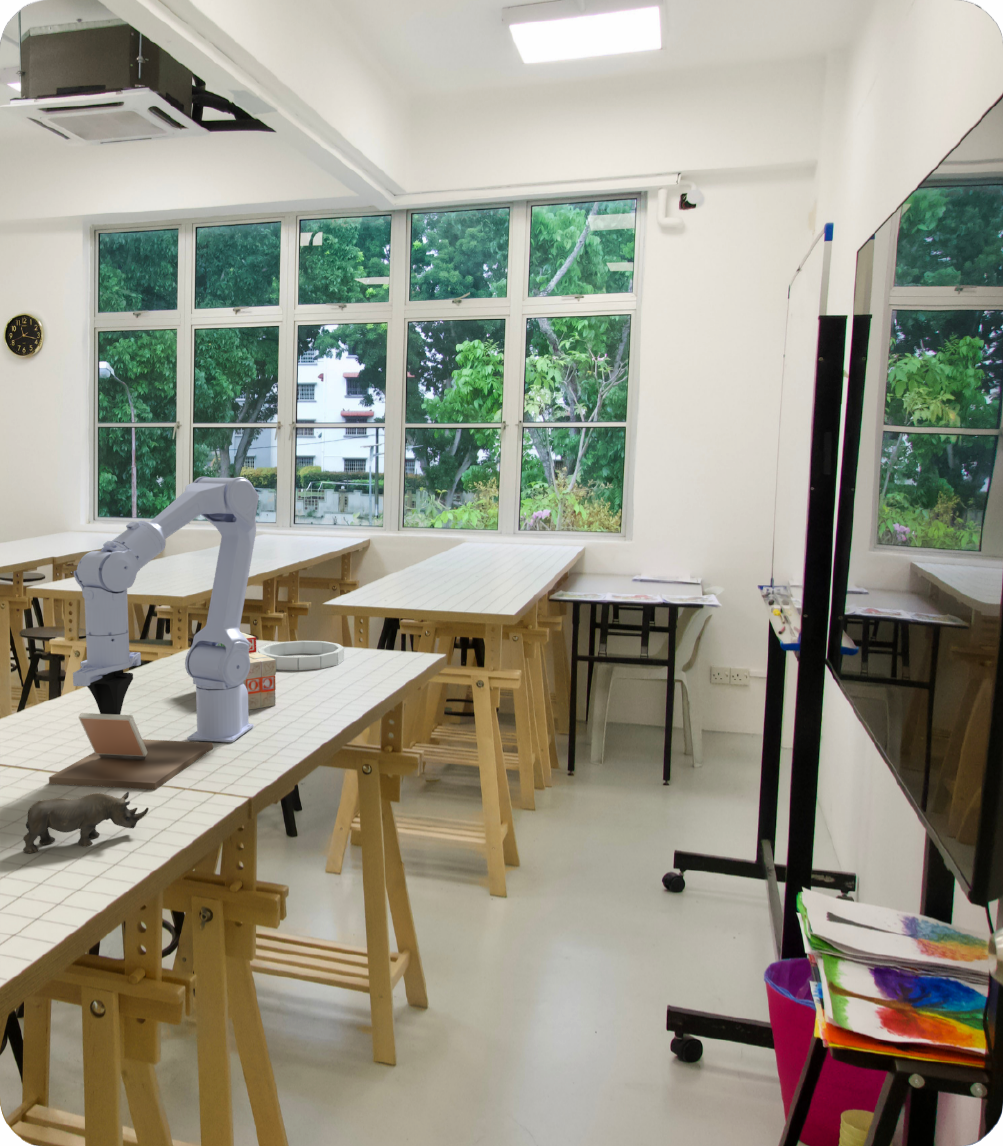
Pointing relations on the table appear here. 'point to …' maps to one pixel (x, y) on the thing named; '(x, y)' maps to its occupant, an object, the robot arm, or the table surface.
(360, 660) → the table surface
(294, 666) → the shell dish rim
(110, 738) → the tile
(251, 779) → the table surface
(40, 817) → the rhino figurine
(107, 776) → the board
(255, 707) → the stack of blocks
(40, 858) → the table surface
